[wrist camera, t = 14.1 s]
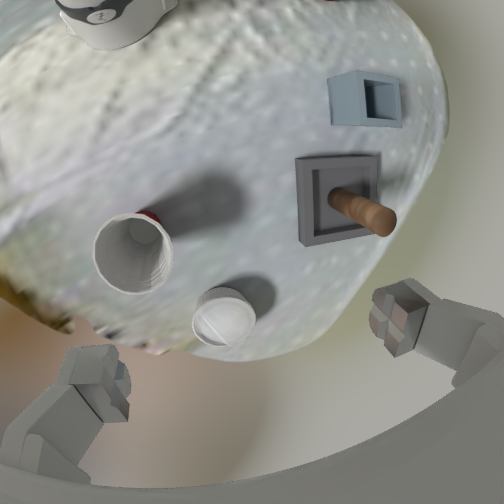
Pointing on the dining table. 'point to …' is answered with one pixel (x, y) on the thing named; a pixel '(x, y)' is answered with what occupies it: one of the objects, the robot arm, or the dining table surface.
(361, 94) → the grey square bin
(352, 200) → the walnut dowel
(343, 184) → the tray
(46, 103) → the dining table surface
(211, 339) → the ramekin
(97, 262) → the plastic cup
